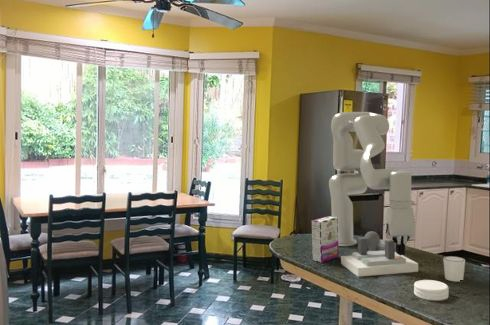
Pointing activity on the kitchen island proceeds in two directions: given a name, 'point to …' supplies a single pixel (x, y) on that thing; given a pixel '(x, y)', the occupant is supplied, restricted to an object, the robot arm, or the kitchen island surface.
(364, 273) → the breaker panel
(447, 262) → the light grey cup
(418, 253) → the kitchen island surface
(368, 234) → the light bulb
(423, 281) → the white ribbed round piece
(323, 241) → the candy bar box
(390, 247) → the handle
